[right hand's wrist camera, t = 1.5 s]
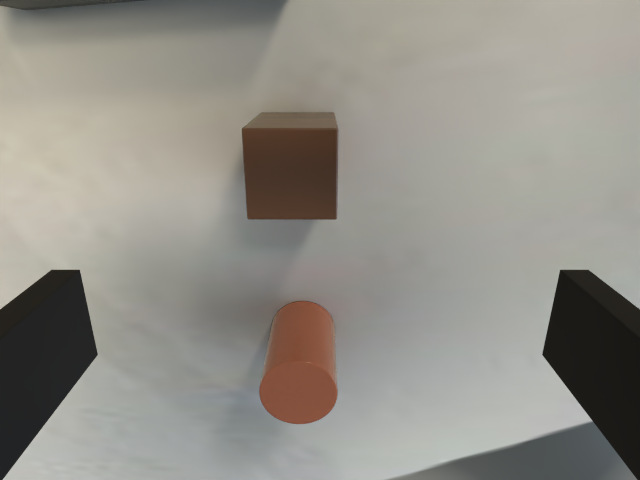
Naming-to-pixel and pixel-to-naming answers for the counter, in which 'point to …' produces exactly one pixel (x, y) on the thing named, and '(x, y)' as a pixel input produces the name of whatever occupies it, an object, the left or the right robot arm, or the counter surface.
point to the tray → (53, 3)
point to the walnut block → (291, 166)
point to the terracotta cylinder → (300, 364)
